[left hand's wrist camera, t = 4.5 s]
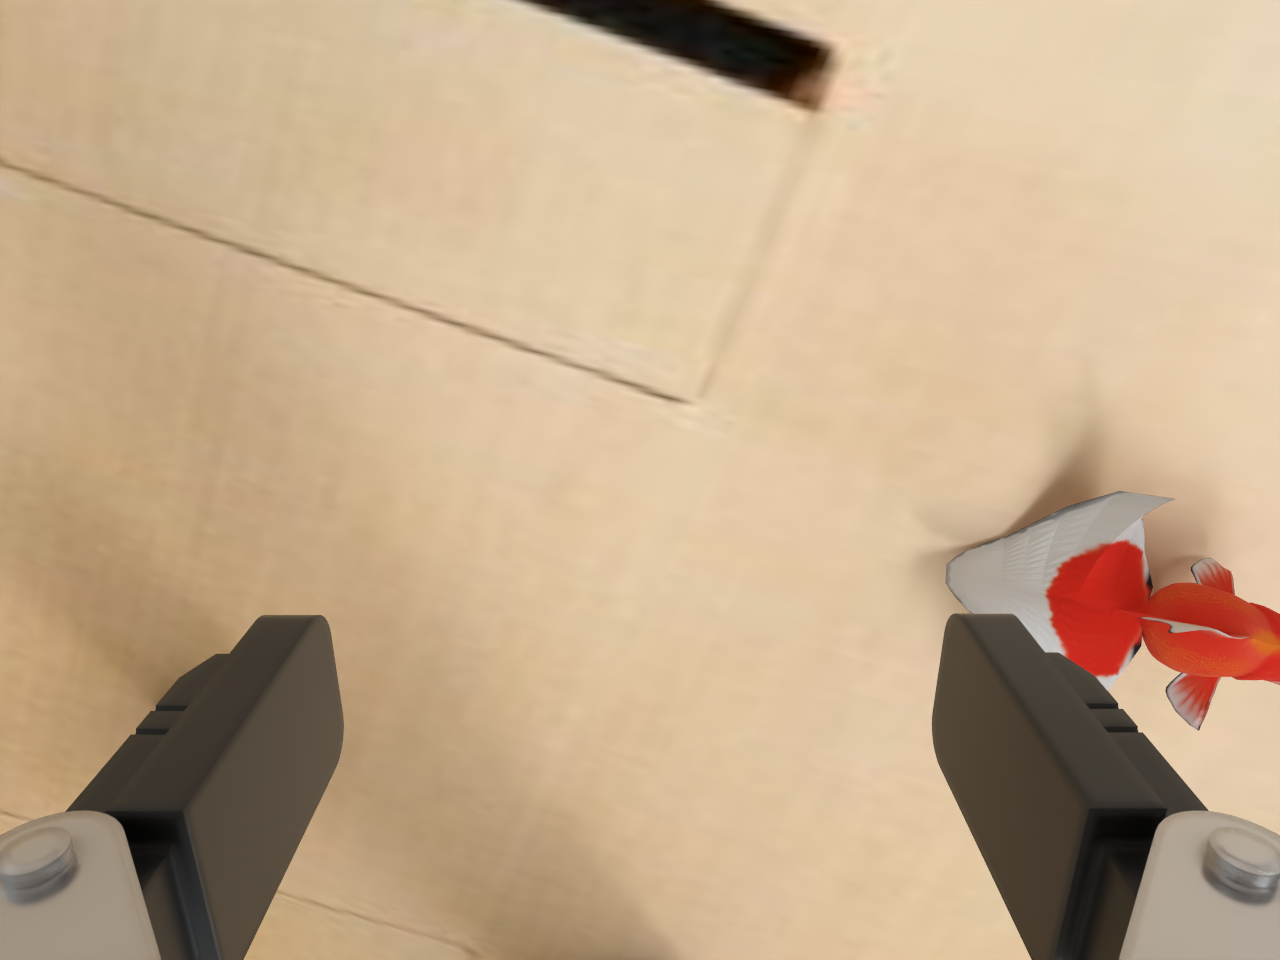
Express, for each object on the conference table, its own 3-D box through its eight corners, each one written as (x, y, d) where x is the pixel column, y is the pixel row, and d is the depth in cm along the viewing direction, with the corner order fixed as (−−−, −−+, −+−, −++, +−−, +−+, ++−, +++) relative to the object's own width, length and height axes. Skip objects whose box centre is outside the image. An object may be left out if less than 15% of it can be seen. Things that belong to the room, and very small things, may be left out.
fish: (1191, 800, 43) (1291, 856, 33) (900, 629, 47) (914, 635, 37) (1302, 610, 43) (1434, 612, 33) (1002, 457, 47) (1042, 418, 37)
